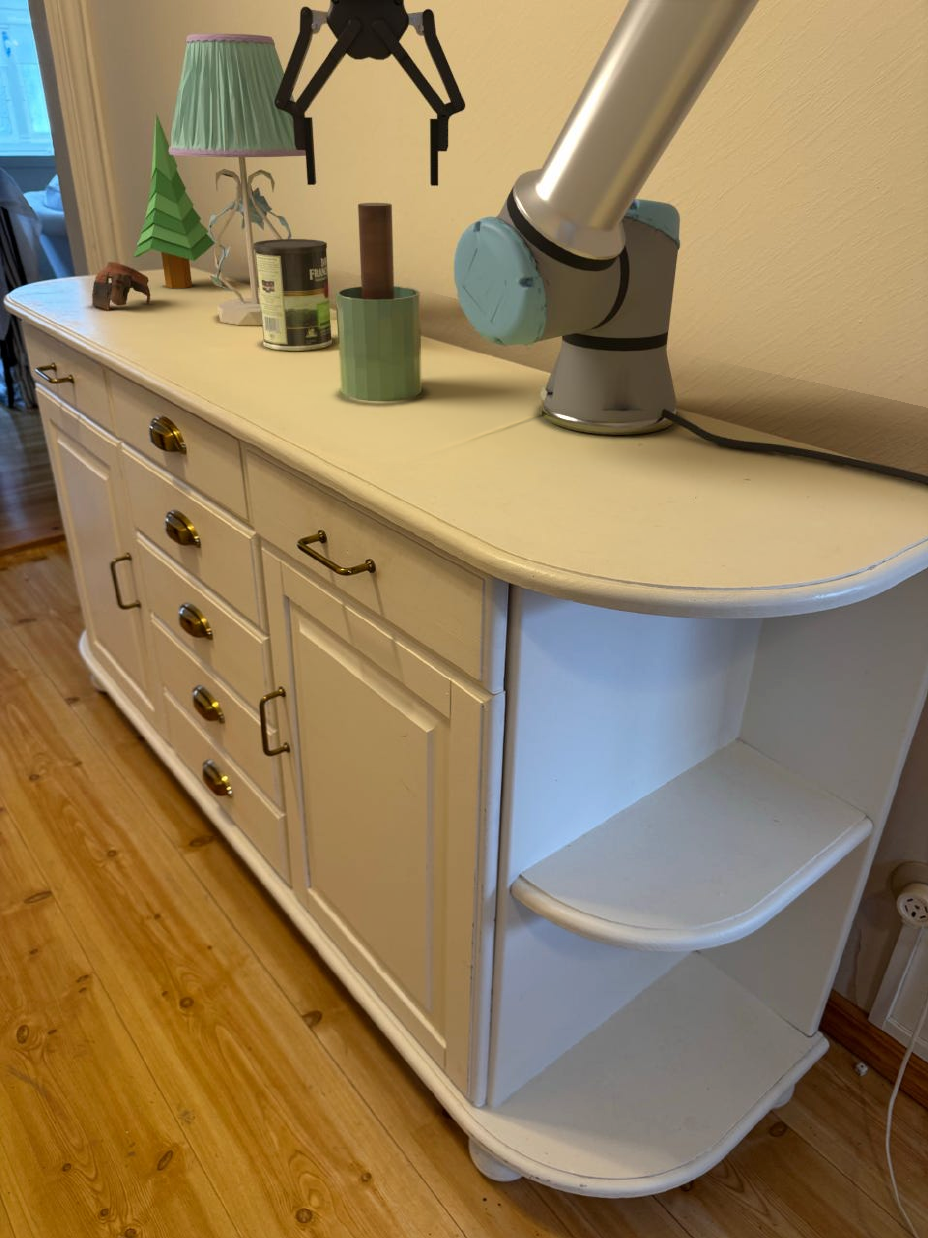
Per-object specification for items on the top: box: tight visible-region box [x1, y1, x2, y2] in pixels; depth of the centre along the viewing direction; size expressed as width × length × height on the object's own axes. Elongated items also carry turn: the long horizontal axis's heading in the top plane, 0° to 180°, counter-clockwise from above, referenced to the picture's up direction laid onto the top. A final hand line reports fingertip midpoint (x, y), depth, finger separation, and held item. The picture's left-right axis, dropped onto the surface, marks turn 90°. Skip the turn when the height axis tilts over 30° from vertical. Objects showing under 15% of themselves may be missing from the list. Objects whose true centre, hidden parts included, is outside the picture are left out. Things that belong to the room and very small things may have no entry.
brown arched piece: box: [91, 261, 151, 311], centre depth 161 cm, size 12×10×8 cm
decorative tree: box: [132, 112, 216, 289], centre depth 174 cm, size 14×16×30 cm
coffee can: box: [253, 238, 333, 352], centre depth 135 cm, size 10×10×14 cm
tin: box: [335, 285, 423, 402], centre depth 112 cm, size 10×10×12 cm
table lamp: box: [169, 33, 306, 326], centre depth 145 cm, size 22×22×40 cm
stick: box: [357, 202, 395, 300], centre depth 109 cm, size 4×4×21 cm
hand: (373, 184), depth 103 cm, fingers open, 13 cm apart
